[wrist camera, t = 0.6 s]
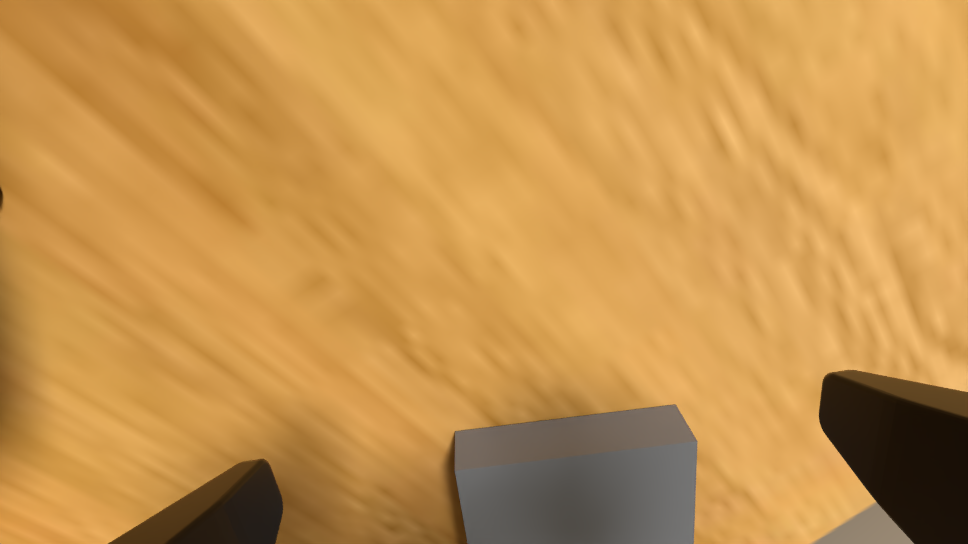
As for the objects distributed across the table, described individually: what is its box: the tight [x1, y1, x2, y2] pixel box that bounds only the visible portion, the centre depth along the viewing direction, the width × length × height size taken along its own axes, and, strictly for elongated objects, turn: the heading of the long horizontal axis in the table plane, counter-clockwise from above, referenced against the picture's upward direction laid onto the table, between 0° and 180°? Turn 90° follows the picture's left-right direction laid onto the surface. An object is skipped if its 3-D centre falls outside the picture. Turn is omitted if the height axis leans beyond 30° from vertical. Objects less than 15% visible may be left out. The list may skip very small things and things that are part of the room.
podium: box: [455, 404, 697, 544], centre depth 26 cm, size 10×10×2 cm
